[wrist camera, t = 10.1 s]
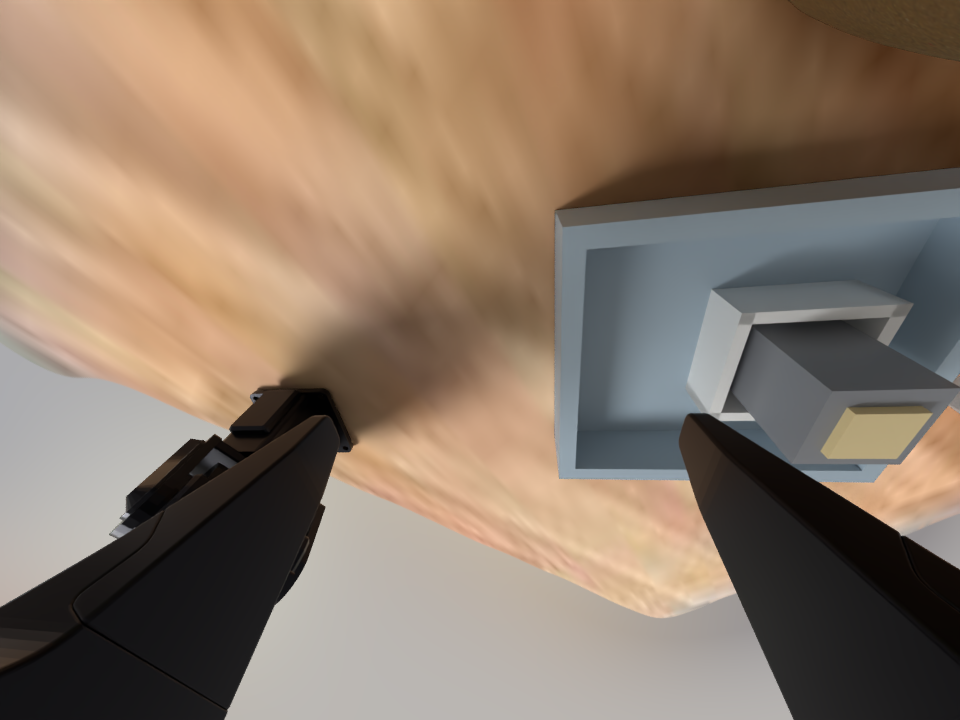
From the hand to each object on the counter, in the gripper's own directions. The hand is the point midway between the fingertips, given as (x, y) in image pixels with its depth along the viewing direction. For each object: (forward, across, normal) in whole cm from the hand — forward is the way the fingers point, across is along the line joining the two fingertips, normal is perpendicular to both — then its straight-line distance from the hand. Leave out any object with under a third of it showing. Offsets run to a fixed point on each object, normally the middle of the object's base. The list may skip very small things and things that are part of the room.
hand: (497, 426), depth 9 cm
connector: (+12, -14, +5) cm, 19 cm away
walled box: (+12, -12, +5) cm, 18 cm away
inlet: (+12, -14, +5) cm, 19 cm away
